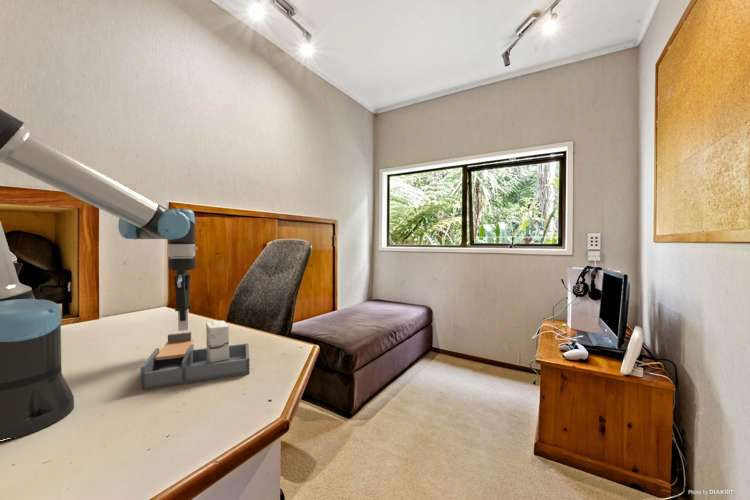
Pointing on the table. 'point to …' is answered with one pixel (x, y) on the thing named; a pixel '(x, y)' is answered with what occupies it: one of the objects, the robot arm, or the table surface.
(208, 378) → the tray
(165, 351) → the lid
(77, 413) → the table surface
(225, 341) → the ink box
